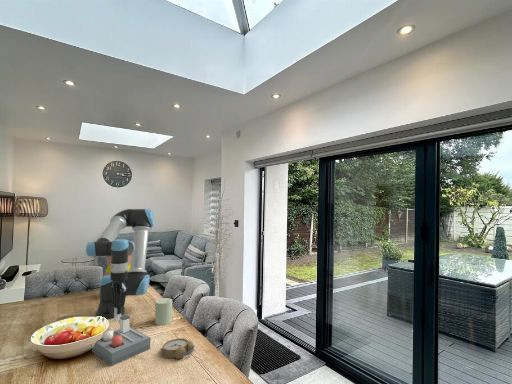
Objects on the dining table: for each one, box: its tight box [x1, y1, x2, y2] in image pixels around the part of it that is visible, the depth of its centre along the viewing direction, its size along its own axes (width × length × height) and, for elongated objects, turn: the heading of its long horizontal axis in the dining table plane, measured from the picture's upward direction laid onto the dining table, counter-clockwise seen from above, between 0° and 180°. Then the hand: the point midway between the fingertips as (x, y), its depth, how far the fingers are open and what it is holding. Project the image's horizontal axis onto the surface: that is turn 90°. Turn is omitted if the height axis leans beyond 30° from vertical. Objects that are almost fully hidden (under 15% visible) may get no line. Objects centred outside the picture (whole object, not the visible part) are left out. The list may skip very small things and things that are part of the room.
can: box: [154, 297, 173, 326], centre depth 153 cm, size 9×9×12 cm
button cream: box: [102, 329, 114, 342], centre depth 123 cm, size 4×4×4 cm
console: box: [91, 325, 151, 366], centre depth 123 cm, size 19×17×6 cm
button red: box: [111, 335, 122, 348], centre depth 118 cm, size 4×4×4 cm
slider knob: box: [119, 314, 131, 333], centre depth 130 cm, size 3×3×7 cm
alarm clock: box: [160, 337, 195, 360], centre depth 121 cm, size 11×5×15 cm
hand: (117, 320), depth 134 cm, fingers closed
